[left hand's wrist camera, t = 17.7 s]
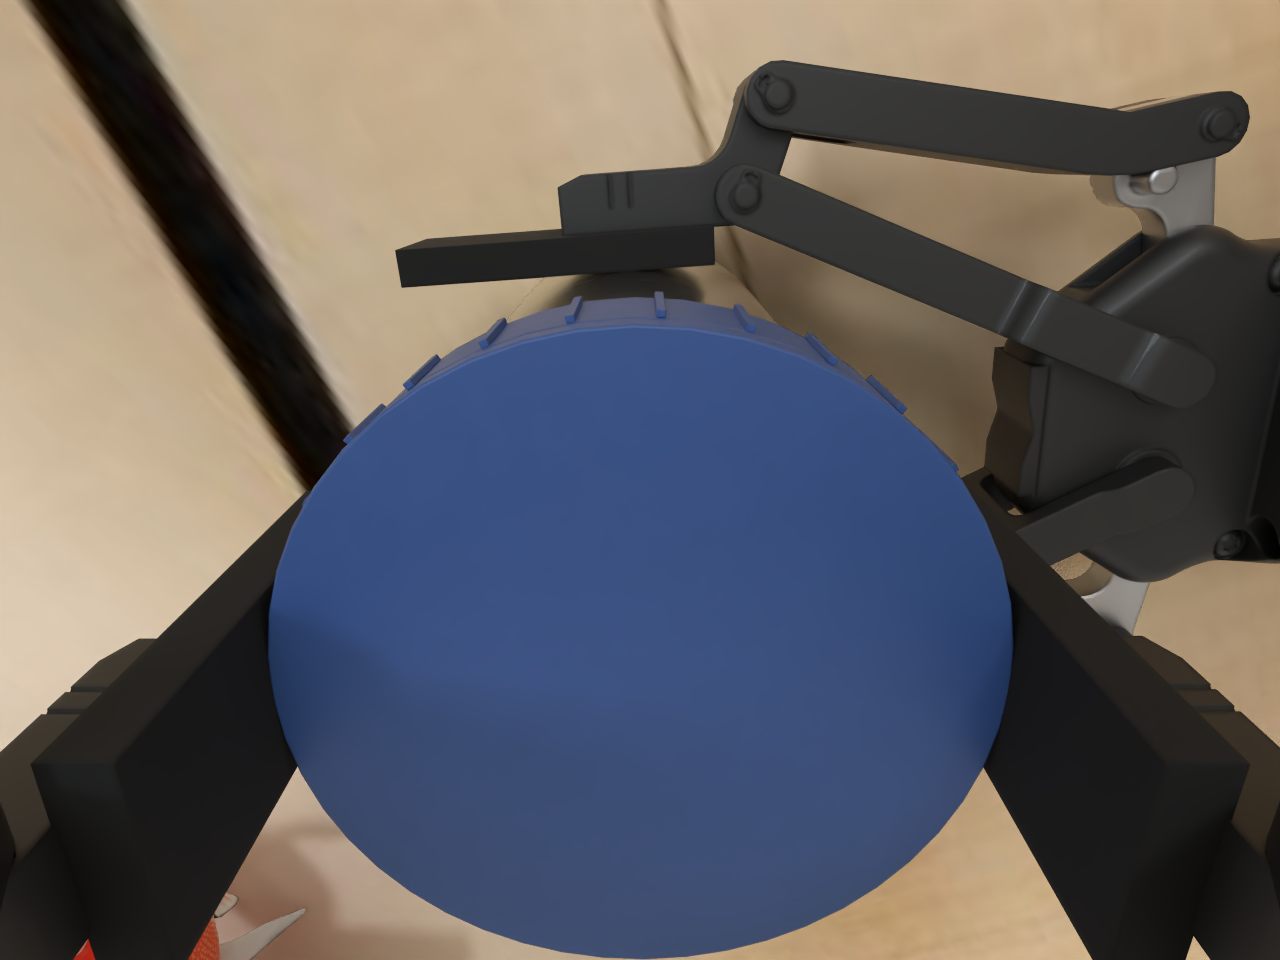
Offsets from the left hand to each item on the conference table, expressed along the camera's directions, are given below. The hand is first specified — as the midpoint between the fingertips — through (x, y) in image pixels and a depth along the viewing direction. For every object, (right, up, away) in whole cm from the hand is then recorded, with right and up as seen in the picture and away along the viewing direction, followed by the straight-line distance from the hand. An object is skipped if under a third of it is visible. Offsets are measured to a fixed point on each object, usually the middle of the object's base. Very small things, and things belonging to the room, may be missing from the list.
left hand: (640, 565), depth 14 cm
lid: (0, -1, -3) cm, 3 cm away
